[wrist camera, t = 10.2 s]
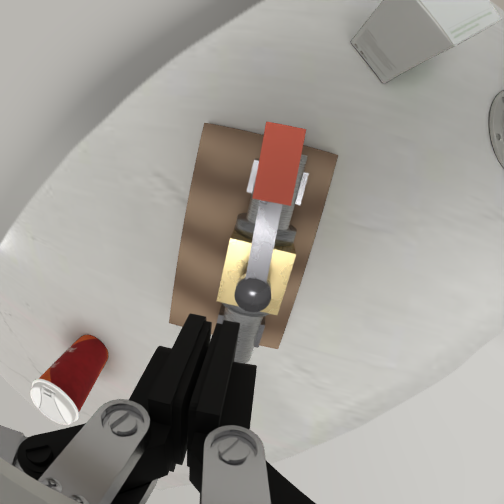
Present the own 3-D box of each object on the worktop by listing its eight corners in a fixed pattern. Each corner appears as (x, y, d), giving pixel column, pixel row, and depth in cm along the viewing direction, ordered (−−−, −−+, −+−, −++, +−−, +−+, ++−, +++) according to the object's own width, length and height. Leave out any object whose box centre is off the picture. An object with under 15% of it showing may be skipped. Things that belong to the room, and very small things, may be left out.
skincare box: (381, 85, 29) (453, 51, 14) (345, 39, 27) (393, -23, 13) (429, 56, 27) (506, 21, 12) (395, 12, 25) (456, -43, 11)
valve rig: (208, 124, 32) (180, 114, 21) (334, 154, 32) (363, 158, 22) (173, 314, 40) (145, 367, 29) (277, 340, 40) (278, 399, 29)
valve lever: (267, 302, 26) (267, 319, 24) (234, 296, 26) (230, 313, 24) (303, 131, 22) (307, 129, 19) (265, 124, 22) (264, 121, 19)
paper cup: (72, 321, 41) (22, 375, 28) (115, 339, 42) (71, 402, 29) (74, 358, 44) (33, 412, 31) (113, 375, 44) (77, 436, 31)
